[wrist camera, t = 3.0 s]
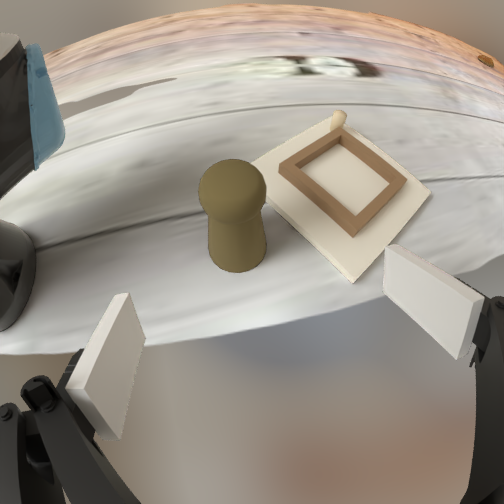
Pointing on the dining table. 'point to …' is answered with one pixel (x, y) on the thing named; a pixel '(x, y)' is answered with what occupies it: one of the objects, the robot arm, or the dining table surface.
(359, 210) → the seat board
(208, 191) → the cork
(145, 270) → the dining table surface
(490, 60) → the pastry
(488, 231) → the dining table surface
